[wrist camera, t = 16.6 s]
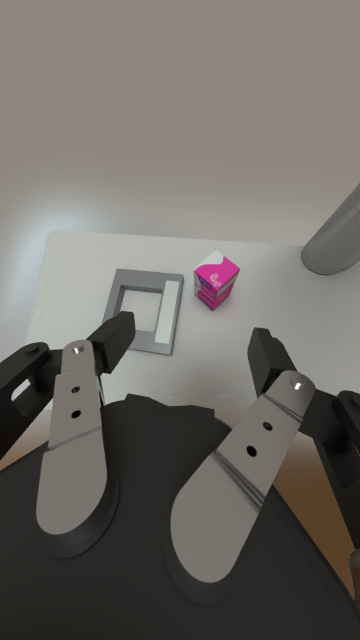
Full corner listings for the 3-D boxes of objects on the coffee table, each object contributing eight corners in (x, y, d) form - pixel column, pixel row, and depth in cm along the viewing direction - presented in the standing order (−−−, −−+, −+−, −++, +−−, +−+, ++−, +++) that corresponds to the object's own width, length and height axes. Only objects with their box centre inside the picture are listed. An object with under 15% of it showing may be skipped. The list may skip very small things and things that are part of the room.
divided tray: (183, 279, 43) (182, 273, 40) (171, 355, 38) (169, 354, 35) (121, 274, 45) (116, 268, 42) (102, 344, 40) (95, 343, 37)
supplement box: (193, 295, 41) (192, 268, 30) (211, 279, 42) (216, 246, 31) (211, 312, 40) (217, 290, 29) (230, 294, 41) (242, 267, 30)
